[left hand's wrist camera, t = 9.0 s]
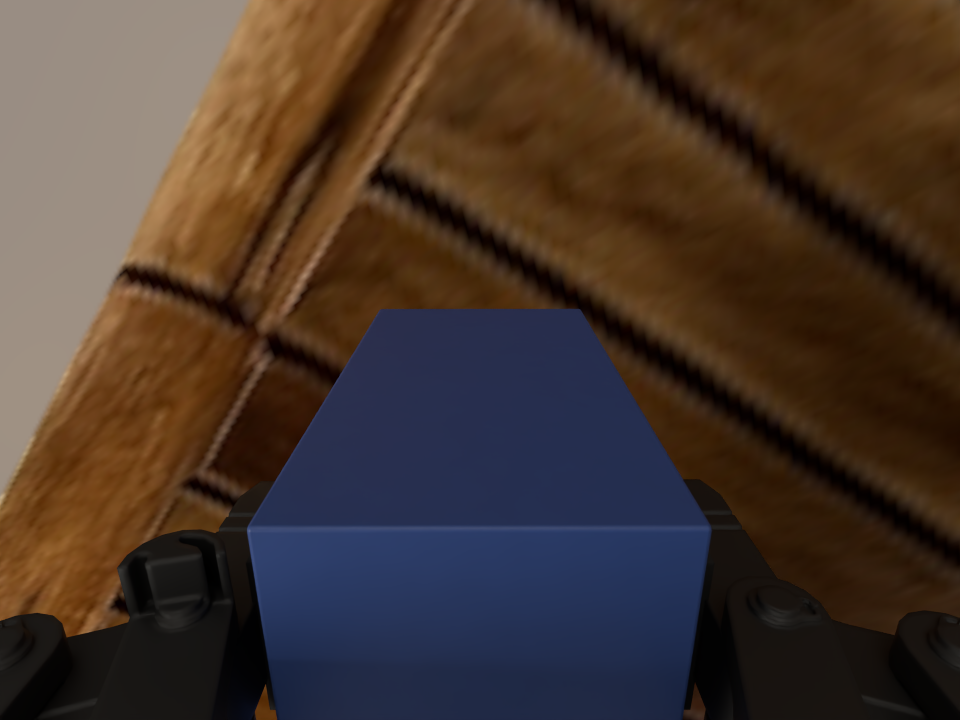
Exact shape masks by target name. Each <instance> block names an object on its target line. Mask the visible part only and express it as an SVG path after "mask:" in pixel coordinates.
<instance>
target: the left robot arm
mask: <svg viewBox="0 0 960 720" xmlns="http://www.w3.org/2000/svg"><path fill="white" fill-rule="evenodd" d="M683 481H684V482H685V484H686V486H687V487H688V489H689V491H690V492H691V494H692V496H693V497H694V499H695V500H696V502H697V504H698V505H699V507H700V509H701V510H702V512H703V514H704V515H705V517H706V519H707V520H708V522H709V524H710V525H711V528H712V533H711V539H710V545H709V552H708V558H707V565H706V571H705V577H704V584H703V590H702V596H701V603H700V609H699V616H698V622H697V628H696V635H695V641H694V647H693V654H692V660H691V667H690V673H689V679H688V686H687V692H686V698H685V705H684V710H690V708H691V702H692V696H693V690H694V684H695V683H696V685H697V688H698V690H699V693H700V695H701V698H702V700H703V703H704V705H705V708H706V711H705V716H704V720H960V618H958V617H955V616H952V615H949V614H946V613H939V612H932V611H918V612H912V613H908V614H907V615H905V616H904V617H903V618H902V619H901V620H900V621H899V623H898V626H897V630H896V633H895V635H891V634H887V633H882V632H878V631H874V630H869V629H865V628H861V627H856V626H852V625H848V624H845V623H841V622H838V621H835V620H831V618H830V616H829V615H828V613H827V612H826V610H825V609H824V607H823V606H822V604H821V603H820V602H819V601H817V600H816V599H815V598H814V597H813V596H811V595H810V594H809V593H808V592H806V591H805V590H803V589H801V588H799V587H797V586H795V585H793V584H791V583H789V582H787V581H783V580H780V579H777V577H776V576H775V574H774V573H773V571H772V570H771V568H770V567H769V566H768V564H767V563H766V561H765V560H764V558H763V557H762V555H761V554H760V552H759V551H758V549H757V548H756V546H755V545H754V543H753V542H752V540H751V539H750V538H749V536H748V535H747V533H746V532H745V530H742V526H741V524H740V523H739V521H738V520H737V518H736V517H735V515H732V511H731V510H730V508H729V507H728V505H727V504H726V502H725V501H724V499H723V498H722V496H721V495H720V494H719V493H718V492H716V491H715V490H713V489H712V488H711V487H709V486H708V485H706V484H705V483H704V482H702V481H701V480H683ZM274 483H275V481H261V482H260V483H258V484H257V485H256V486H254V487H253V488H251V489H250V490H249V491H247V492H246V493H244V494H243V495H242V496H240V498H239V499H238V501H237V502H236V504H235V505H234V507H233V508H232V510H231V511H230V513H229V517H226V519H225V520H224V522H223V523H222V525H221V526H220V528H219V532H216V533H212V532H209V531H205V530H181V531H177V532H173V533H169V534H164V535H161V536H159V537H157V538H155V539H152V540H150V541H148V542H146V543H143V544H142V545H140V546H139V547H138V548H136V549H135V550H133V551H132V552H131V553H129V554H128V555H127V556H126V557H125V558H124V560H123V561H122V562H121V564H120V565H119V566H118V567H117V569H118V573H119V577H120V581H121V585H122V589H123V593H124V596H125V600H126V604H127V608H128V612H129V616H130V619H129V622H128V623H124V624H121V625H118V626H114V627H111V628H106V629H102V630H98V631H93V632H89V633H85V634H80V635H76V636H72V637H67V638H66V634H65V631H64V628H63V625H62V623H61V622H60V621H59V620H58V619H56V618H55V617H54V616H53V615H47V614H40V613H33V614H26V615H18V616H14V617H11V618H8V619H5V620H2V621H0V720H256V716H255V709H256V707H257V704H258V702H259V699H260V697H261V694H262V692H263V689H264V687H265V684H266V688H267V694H268V700H269V706H270V710H276V708H275V702H274V696H273V689H272V683H271V677H270V671H269V665H268V658H267V652H266V646H265V640H264V633H263V627H262V621H261V615H260V609H259V602H258V596H257V590H256V584H255V578H254V571H253V565H252V559H251V553H250V547H249V540H248V534H247V528H248V525H249V524H250V522H251V520H252V519H253V517H254V515H255V514H256V512H257V510H258V509H259V507H260V506H261V504H262V502H263V501H264V499H265V497H266V496H267V494H268V492H269V491H270V489H271V488H272V486H273V484H274Z"/></svg>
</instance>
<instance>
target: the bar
mask: <svg viewBox="0 0 960 720" xmlns="http://www.w3.org/2000/svg"><path fill="white" fill-rule="evenodd" d="M711 533H712V528H711V525H710V524H709V522H708V520H707V519H706V517H705V515H704V514H703V512H702V510H701V509H700V507H699V505H698V504H697V502H696V500H695V499H694V497H693V496H692V494H691V492H690V491H689V489H688V487H687V486H686V484H685V482H684V481H683V479H682V477H681V476H680V474H679V472H678V471H677V469H676V467H675V466H674V464H673V462H672V461H671V459H670V457H669V456H668V454H667V452H666V451H665V449H664V448H663V446H662V444H661V443H660V441H659V439H658V438H657V436H656V434H655V433H654V431H653V429H652V428H651V426H650V424H649V423H648V421H647V419H646V418H645V416H644V414H643V413H642V411H641V409H640V408H639V406H638V404H637V403H636V401H635V399H634V398H633V396H632V395H631V393H630V391H629V390H628V388H627V386H626V385H625V383H624V381H623V380H622V378H621V376H620V375H619V373H618V371H617V370H616V368H615V366H614V365H613V363H612V361H611V360H610V358H609V356H608V355H607V353H606V351H605V350H604V348H603V346H602V345H601V343H600V342H599V340H598V338H597V337H596V335H595V333H594V332H593V330H592V328H591V327H590V325H589V323H588V322H587V320H586V318H585V317H584V315H583V313H582V312H581V310H579V309H381V310H380V311H379V312H378V314H377V316H376V317H375V319H374V321H373V322H372V324H371V326H370V327H369V329H368V330H367V332H366V334H365V335H364V337H363V339H362V340H361V342H360V344H359V345H358V347H357V348H356V350H355V352H354V353H353V355H352V357H351V358H350V360H349V362H348V363H347V365H346V366H345V368H344V370H343V371H342V373H341V375H340V376H339V378H338V380H337V381H336V383H335V384H334V386H333V388H332V389H331V391H330V393H329V394H328V396H327V398H326V399H325V401H324V402H323V404H322V406H321V407H320V409H319V411H318V412H317V414H316V416H315V417H314V419H313V420H312V422H311V424H310V425H309V427H308V429H307V430H306V432H305V434H304V435H303V437H302V438H301V440H300V442H299V443H298V445H297V447H296V448H295V450H294V452H293V453H292V455H291V456H290V458H289V460H288V461H287V463H286V465H285V466H284V468H283V470H282V471H281V473H280V474H279V476H278V478H277V479H276V481H275V483H274V484H273V486H272V488H271V489H270V491H269V492H268V494H267V496H266V497H265V499H264V501H263V502H262V504H261V506H260V507H259V509H258V510H257V512H256V514H255V515H254V517H253V519H252V520H251V522H250V524H249V525H248V528H247V534H248V540H249V547H250V553H251V559H252V565H253V571H254V578H255V584H256V590H257V596H258V602H259V609H260V615H261V621H262V627H263V633H264V640H265V646H266V652H267V658H268V665H269V671H270V677H271V683H272V689H273V696H274V702H275V708H276V714H277V720H682V718H683V711H684V705H685V698H686V692H687V686H688V679H689V673H690V667H691V660H692V654H693V647H694V641H695V635H696V628H697V622H698V616H699V609H700V603H701V596H702V590H703V584H704V577H705V571H706V565H707V558H708V552H709V545H710V539H711Z"/></svg>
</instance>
